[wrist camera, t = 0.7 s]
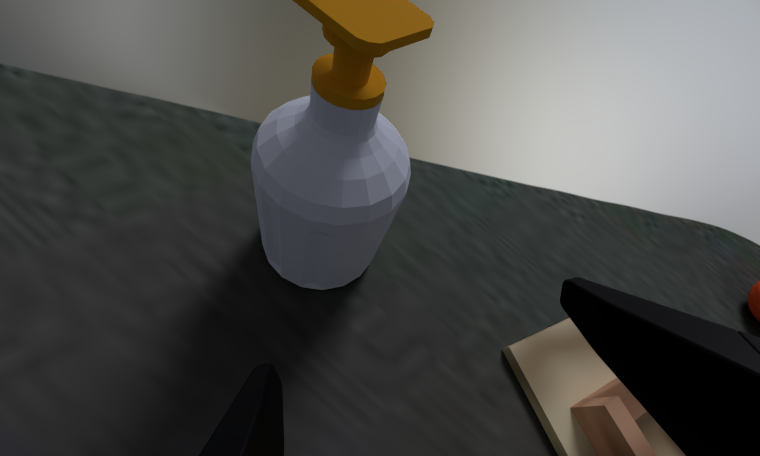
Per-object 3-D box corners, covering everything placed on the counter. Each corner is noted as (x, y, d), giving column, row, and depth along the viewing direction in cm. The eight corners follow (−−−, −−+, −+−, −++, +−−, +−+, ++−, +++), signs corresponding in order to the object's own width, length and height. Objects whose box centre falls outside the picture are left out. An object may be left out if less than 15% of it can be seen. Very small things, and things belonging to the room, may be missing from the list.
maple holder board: (801, 563, 22) (892, 588, 18) (703, 729, 16) (808, 806, 13) (609, 299, 30) (648, 284, 27) (501, 349, 25) (534, 338, 21)
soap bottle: (315, 316, 22) (558, -635, 2) (238, 231, 24) (5, -680, 4) (394, 247, 27) (698, -258, 7) (325, 181, 29) (407, -362, 9)
